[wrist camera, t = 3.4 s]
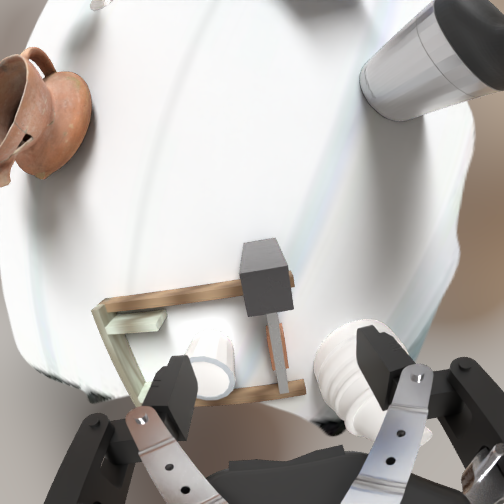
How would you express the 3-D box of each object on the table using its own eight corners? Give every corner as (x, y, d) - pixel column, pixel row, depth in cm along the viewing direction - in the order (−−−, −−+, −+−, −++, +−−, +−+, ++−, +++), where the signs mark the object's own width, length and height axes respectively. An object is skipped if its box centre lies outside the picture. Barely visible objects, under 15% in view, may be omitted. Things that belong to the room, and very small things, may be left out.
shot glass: (189, 365, 35) (178, 397, 29) (185, 323, 34) (172, 353, 27) (237, 369, 36) (235, 403, 29) (238, 327, 34) (235, 359, 27)
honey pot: (381, 302, 33) (458, 381, 16) (401, 362, 36) (456, 439, 18) (298, 348, 35) (326, 456, 17) (331, 401, 37) (360, 492, 20)
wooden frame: (290, 270, 32) (295, 282, 28) (304, 384, 36) (308, 402, 32) (104, 298, 33) (90, 310, 29) (147, 397, 37) (139, 413, 33)
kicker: (275, 237, 31) (287, 265, 20) (294, 374, 35) (306, 432, 24) (243, 242, 31) (239, 273, 20) (269, 378, 35) (274, 437, 25)
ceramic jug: (95, 180, 29) (17, 180, 16) (24, 188, 29) (-44, 195, 15) (111, 55, 26) (57, 8, 12) (39, 79, 25) (-19, 56, 11)
